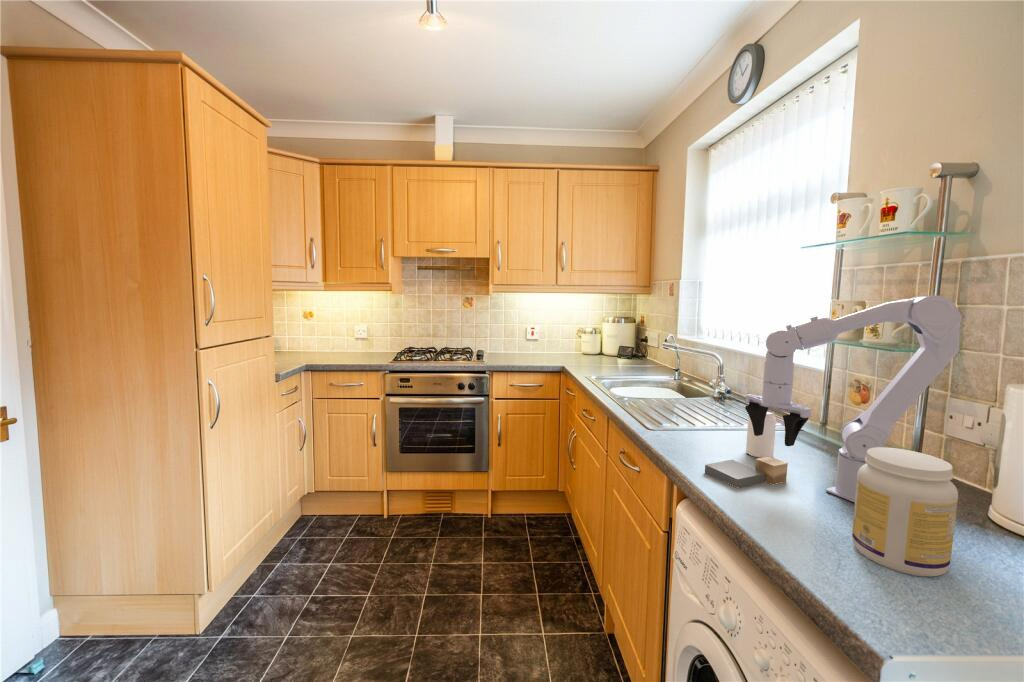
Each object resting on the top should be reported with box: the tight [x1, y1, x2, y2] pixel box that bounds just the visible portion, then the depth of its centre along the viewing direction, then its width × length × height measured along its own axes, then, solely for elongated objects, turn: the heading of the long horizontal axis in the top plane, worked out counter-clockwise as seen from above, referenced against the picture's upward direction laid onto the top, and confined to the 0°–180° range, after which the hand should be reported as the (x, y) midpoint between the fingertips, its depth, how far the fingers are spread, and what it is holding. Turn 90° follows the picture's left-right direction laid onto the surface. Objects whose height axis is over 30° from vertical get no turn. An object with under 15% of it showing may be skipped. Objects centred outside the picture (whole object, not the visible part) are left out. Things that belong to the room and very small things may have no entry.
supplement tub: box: [851, 446, 959, 578], centre depth 71 cm, size 12×12×17 cm
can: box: [745, 409, 777, 459], centre depth 117 cm, size 6×6×12 cm
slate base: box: [704, 459, 766, 488], centre depth 103 cm, size 9×9×2 cm
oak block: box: [755, 456, 788, 485], centre depth 102 cm, size 4×4×4 cm
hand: (773, 440), depth 101 cm, fingers open, 7 cm apart
